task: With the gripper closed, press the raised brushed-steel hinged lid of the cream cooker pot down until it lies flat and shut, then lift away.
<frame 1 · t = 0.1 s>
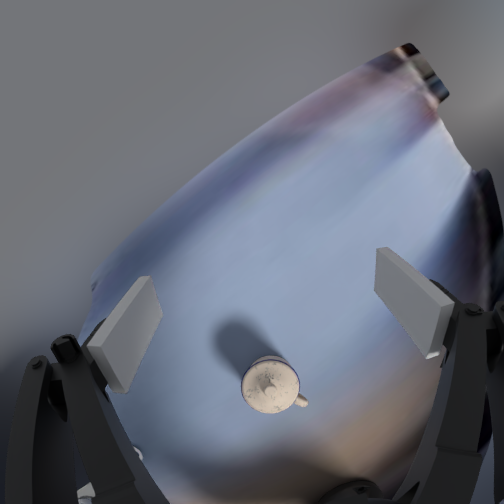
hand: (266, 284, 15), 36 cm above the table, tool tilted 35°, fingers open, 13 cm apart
teacup with lid: (277, 381, 46), on the table
cooker pot: (127, 498, 38), on the table
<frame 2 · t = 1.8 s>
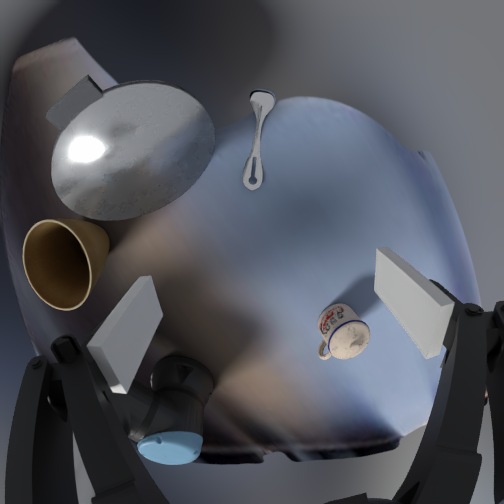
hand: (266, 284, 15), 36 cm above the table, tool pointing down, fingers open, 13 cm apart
teacup with lid: (330, 324, 58), on the table
plant pot: (95, 243, 49), on the table
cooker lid: (128, 155, 26), point 21 cm above the table, hinge at 55.0°
stirrer: (256, 137, 47), on the table
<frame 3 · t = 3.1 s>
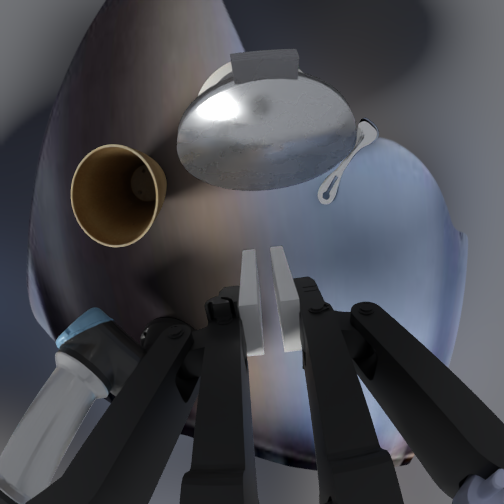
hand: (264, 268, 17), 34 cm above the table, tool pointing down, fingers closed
plant pot: (149, 183, 49), on the table
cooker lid: (267, 136, 26), point 21 cm above the table, hinge at 55.0°
stirrer: (346, 159, 48), on the table
cooker pot: (257, 122, 45), on the table
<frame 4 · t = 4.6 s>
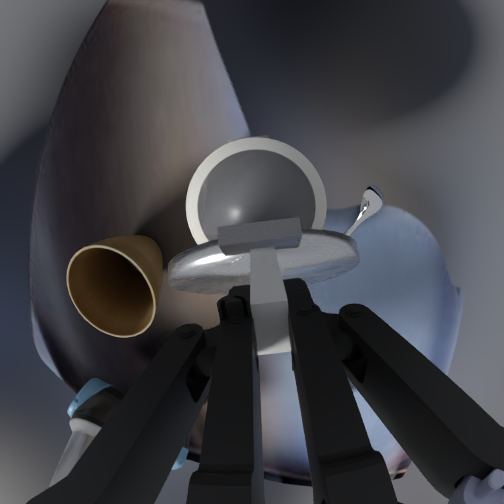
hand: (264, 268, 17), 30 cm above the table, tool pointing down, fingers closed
plant pot: (144, 254, 49), on the table
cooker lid: (264, 268, 26), point 21 cm above the table, hinge at 54.0°, touching gripper
stirrer: (347, 231, 48), on the table
cooker pot: (255, 195, 45), on the table
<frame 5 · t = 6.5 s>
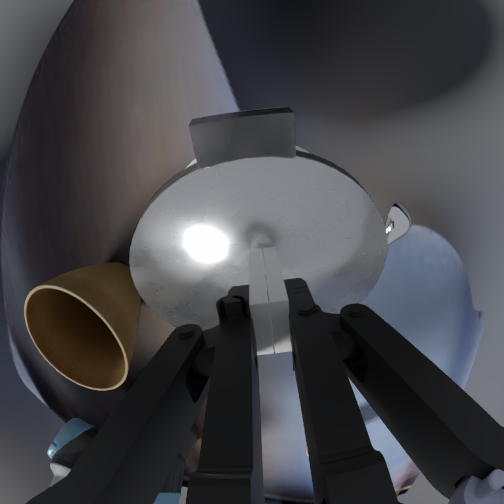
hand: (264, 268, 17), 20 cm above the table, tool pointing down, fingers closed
plant pot: (121, 284, 39), on the table
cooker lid: (260, 264, 19), point 17 cm above the table, hinge at 25.0°, touching gripper
stirrer: (366, 257, 39), on the table
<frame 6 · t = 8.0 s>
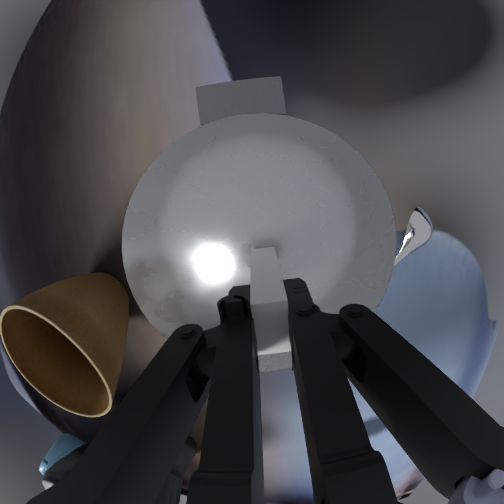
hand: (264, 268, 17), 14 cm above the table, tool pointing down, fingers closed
plant pot: (108, 296, 34), on the table
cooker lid: (259, 247, 18), point 13 cm above the table, hinge at 1.7°, touching gripper
stirrer: (383, 268, 33), on the table
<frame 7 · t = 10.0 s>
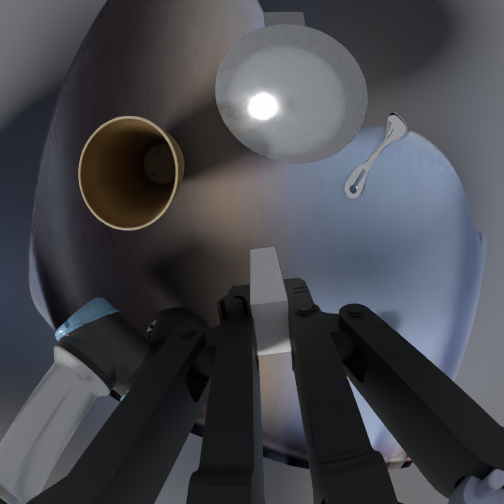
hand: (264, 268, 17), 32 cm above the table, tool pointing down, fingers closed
plant pot: (163, 165, 45), on the table
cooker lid: (292, 81, 28), point 13 cm above the table, hinge at 1.7°
stirrer: (373, 153, 44), on the table
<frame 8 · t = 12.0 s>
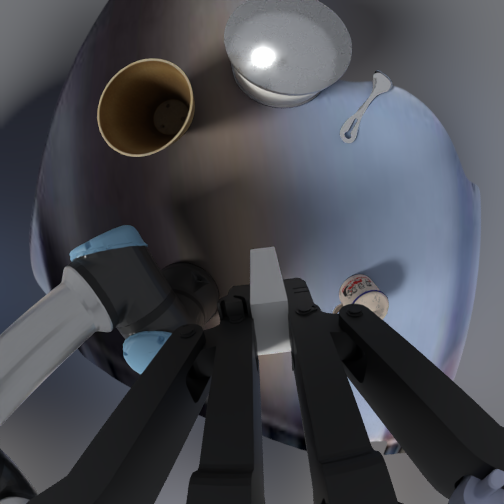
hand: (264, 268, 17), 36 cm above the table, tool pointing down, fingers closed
teacup with lid: (350, 293, 59), on the table
plant pot: (172, 118, 46), on the table
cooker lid: (288, 33, 30), point 13 cm above the table, hinge at 1.7°
stirrer: (363, 105, 46), on the table
cooker pot: (280, 64, 42), on the table
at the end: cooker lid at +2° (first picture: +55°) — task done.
